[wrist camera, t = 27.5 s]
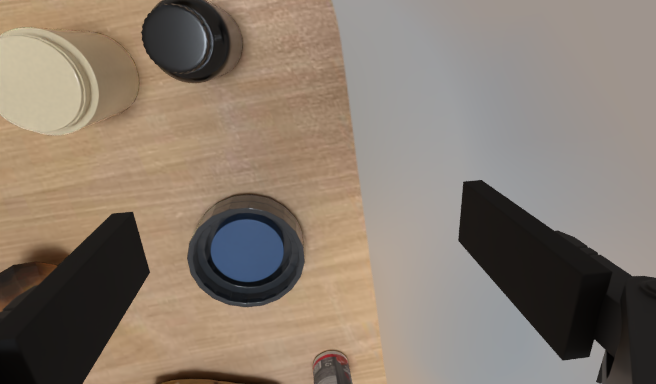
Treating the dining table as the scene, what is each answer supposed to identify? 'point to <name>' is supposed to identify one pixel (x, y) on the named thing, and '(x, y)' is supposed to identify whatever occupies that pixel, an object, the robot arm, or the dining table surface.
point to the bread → (197, 381)
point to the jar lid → (247, 247)
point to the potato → (21, 279)
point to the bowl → (241, 291)
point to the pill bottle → (331, 369)
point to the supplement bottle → (192, 40)
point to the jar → (63, 79)
